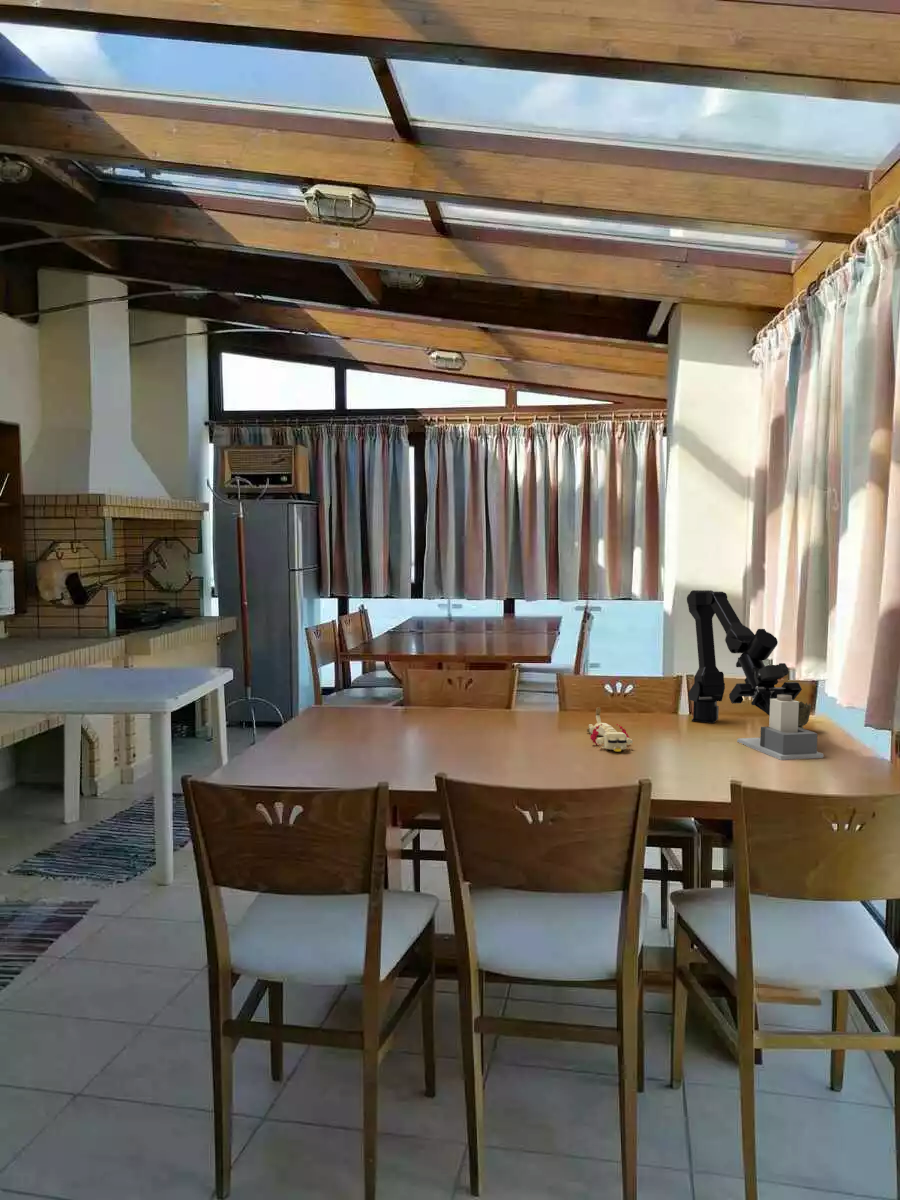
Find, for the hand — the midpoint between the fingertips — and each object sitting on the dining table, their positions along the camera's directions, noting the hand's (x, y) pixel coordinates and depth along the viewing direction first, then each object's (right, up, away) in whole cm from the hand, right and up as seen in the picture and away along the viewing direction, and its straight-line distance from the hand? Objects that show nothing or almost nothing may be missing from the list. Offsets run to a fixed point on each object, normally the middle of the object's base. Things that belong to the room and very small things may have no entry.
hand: (777, 719), depth 235 cm
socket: (0, -8, 0) cm, 8 cm away
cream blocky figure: (-44, -7, +5) cm, 44 cm away
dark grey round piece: (+14, -7, +24) cm, 29 cm away
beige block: (+1, -7, -2) cm, 7 cm away
